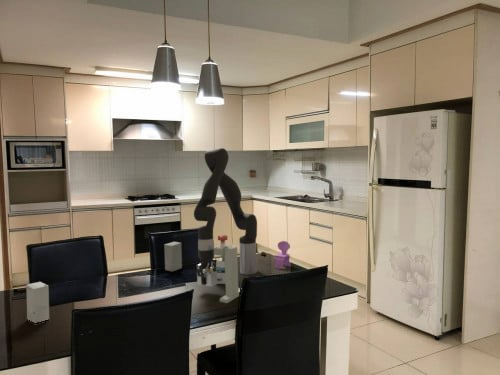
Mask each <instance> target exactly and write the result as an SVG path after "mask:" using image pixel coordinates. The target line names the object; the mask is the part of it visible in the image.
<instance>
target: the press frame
mask: <svg viewBox="0 0 500 375" xmlns="http://www.w3.org/2000/svg"><path fill="white" fill-rule="evenodd" d="M224 255H225V283H226V284H225V295H223V296H222V297H220V298H219V302H220V303H225V304H228V303H231V301H233V300H235V299H236V298H238V297H240V296H239V292H240V288H241V287H239V266H238V264H239V263H238V246H233V245H228V244H225V248H221V245H220V247H217V246H216V247H214V256H224Z"/></svg>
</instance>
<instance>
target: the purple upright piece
mask: <svg viewBox="0 0 500 375" xmlns="http://www.w3.org/2000/svg"><path fill="white" fill-rule="evenodd" d="M277 248H278V249H279V250H280V251H281V252H280V253H278V254H275V255H274V262H275V264H274V265H275V266H274V269H279V270H285V266H286V267H291V266H292V264H291V263H290V258H291V256H290V254H288V250H289V249H291V245H290V243H289V242H288V241H285V240H281V241H279V242H278V243H277Z"/></svg>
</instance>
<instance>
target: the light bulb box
mask: <svg viewBox="0 0 500 375" xmlns="http://www.w3.org/2000/svg"><path fill="white" fill-rule="evenodd" d="M216 271H217V284H216V285H219V284H220V285H226V283H225V268H221V267H217V264H216Z"/></svg>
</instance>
